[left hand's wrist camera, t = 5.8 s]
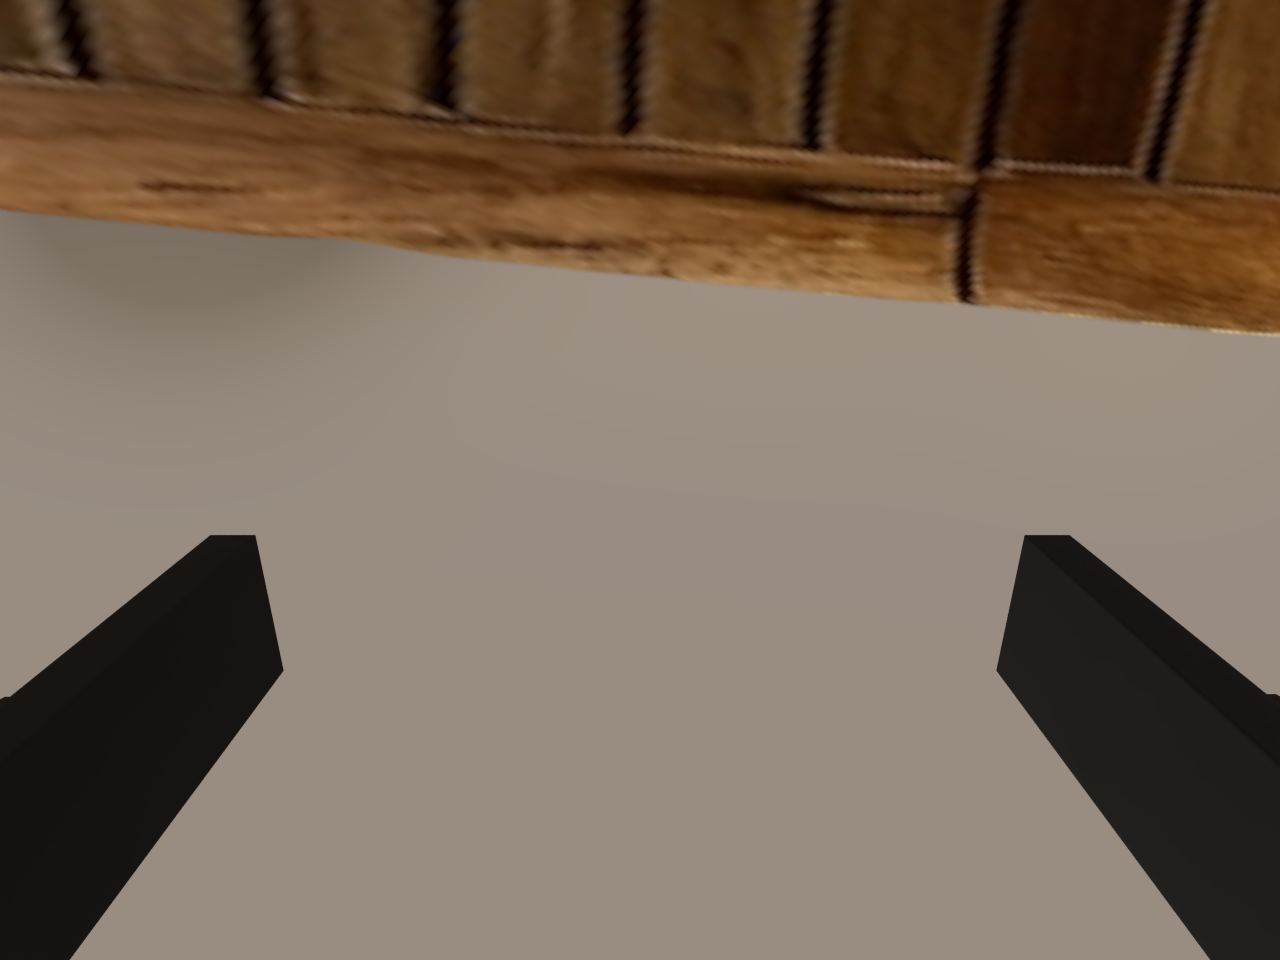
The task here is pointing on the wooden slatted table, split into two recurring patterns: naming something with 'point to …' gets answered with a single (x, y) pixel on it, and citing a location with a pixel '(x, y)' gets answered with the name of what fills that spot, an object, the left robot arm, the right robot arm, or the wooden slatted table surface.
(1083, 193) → the wooden slatted table surface
